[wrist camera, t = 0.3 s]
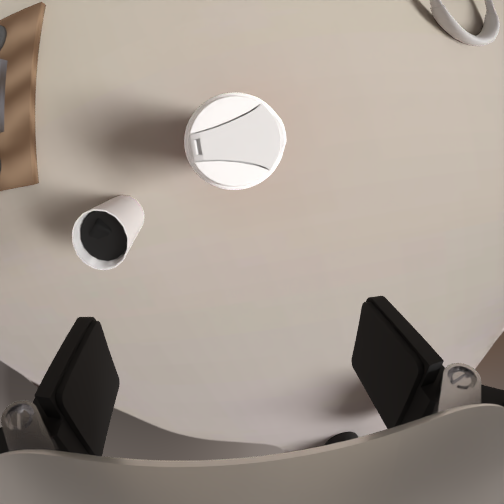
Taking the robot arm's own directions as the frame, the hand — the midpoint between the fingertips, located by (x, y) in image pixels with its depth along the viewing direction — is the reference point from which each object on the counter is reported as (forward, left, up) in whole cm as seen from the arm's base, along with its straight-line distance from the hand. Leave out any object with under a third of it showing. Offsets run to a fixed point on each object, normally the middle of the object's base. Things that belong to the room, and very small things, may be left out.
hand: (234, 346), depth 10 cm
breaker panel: (-18, -35, -31) cm, 49 cm away
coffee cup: (-7, +1, -31) cm, 32 cm away
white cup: (+2, -13, -31) cm, 33 cm away
